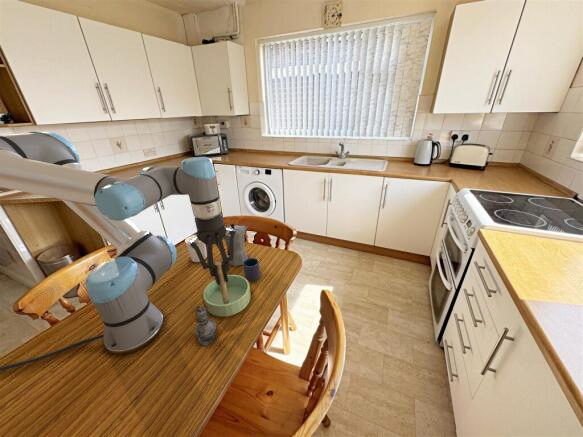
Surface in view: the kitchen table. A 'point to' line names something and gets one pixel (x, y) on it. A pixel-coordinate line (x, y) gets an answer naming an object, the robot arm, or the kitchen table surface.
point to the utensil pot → (251, 269)
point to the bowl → (236, 293)
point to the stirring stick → (222, 282)
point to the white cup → (192, 251)
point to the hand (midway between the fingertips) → (221, 281)
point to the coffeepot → (238, 245)
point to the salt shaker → (204, 327)
